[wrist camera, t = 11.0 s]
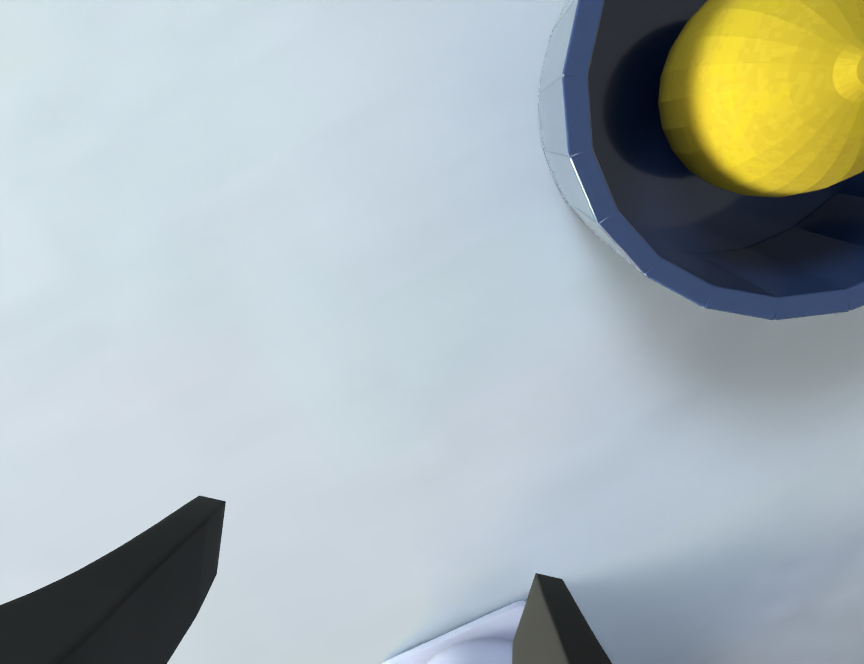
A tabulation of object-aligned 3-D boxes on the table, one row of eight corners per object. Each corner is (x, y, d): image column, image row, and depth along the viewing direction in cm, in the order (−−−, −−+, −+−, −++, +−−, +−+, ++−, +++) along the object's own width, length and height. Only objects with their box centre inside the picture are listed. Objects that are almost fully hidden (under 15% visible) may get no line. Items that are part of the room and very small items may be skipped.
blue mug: (752, 321, 22) (860, 393, 16) (477, 171, 21) (476, 185, 15) (1059, -98, 17) (1375, -226, 11) (729, -308, 17) (877, -572, 10)
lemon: (630, 6, 19) (736, -85, 11) (822, -12, 18) (1072, -122, 10) (627, 191, 20) (717, 223, 13) (802, 179, 20) (1006, 205, 12)
